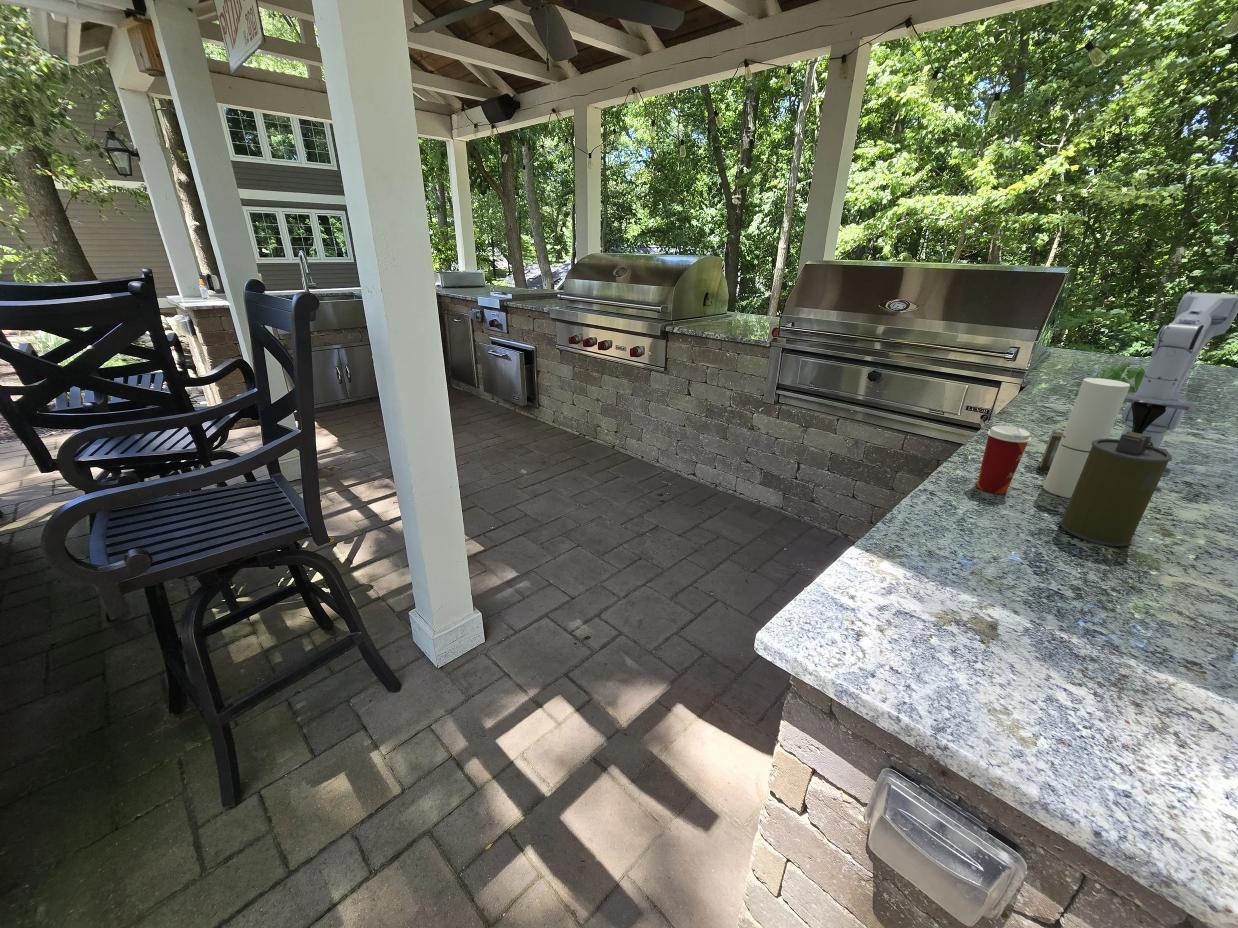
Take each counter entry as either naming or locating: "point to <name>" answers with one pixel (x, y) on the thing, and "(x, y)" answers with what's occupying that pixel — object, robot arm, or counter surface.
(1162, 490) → the counter surface
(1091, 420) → the cylindrical container
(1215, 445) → the counter surface
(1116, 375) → the plant cuttings
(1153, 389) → the robot arm
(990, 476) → the paper cup
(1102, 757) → the counter surface
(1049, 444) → the window frame
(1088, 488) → the canister
